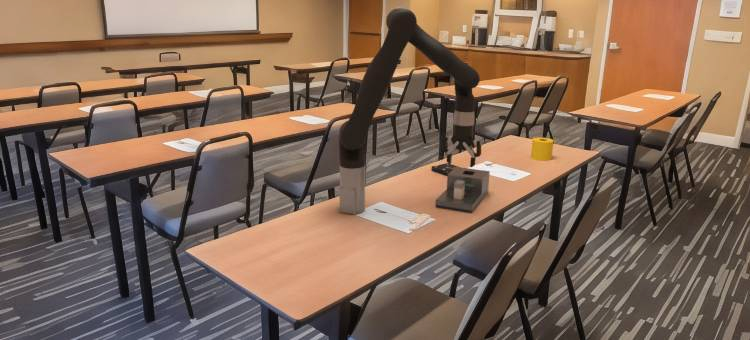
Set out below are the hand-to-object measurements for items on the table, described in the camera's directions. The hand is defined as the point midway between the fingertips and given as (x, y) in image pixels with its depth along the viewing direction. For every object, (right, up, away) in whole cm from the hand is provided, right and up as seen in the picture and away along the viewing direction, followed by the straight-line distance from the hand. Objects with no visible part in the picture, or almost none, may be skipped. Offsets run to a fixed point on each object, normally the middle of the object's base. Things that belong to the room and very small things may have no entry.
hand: (460, 165), depth 205 cm
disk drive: (+2, -4, +44) cm, 44 cm away
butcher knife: (-18, -21, -13) cm, 30 cm away
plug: (0, -14, +4) cm, 15 cm away
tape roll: (+51, +4, +70) cm, 87 cm away
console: (+3, -13, +11) cm, 17 cm away
